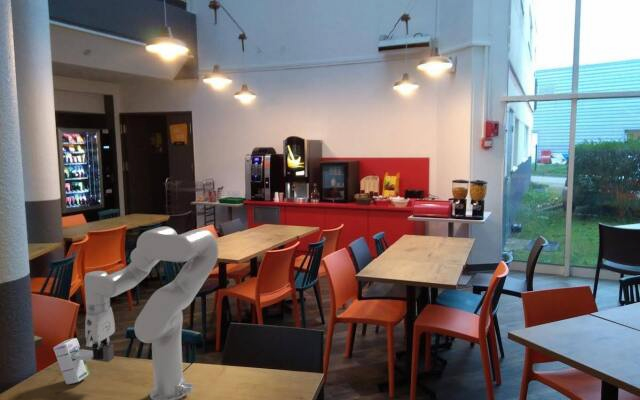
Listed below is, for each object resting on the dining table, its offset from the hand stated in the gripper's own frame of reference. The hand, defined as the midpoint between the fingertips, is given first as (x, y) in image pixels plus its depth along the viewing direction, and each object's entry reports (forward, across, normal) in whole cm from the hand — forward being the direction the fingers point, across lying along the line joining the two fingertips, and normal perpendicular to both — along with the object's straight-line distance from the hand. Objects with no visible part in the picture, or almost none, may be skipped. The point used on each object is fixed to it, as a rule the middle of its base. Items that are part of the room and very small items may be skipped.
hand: (101, 356), depth 164 cm
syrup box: (+10, 0, +10) cm, 14 cm away
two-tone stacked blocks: (+1, 0, +3) cm, 3 cm away
